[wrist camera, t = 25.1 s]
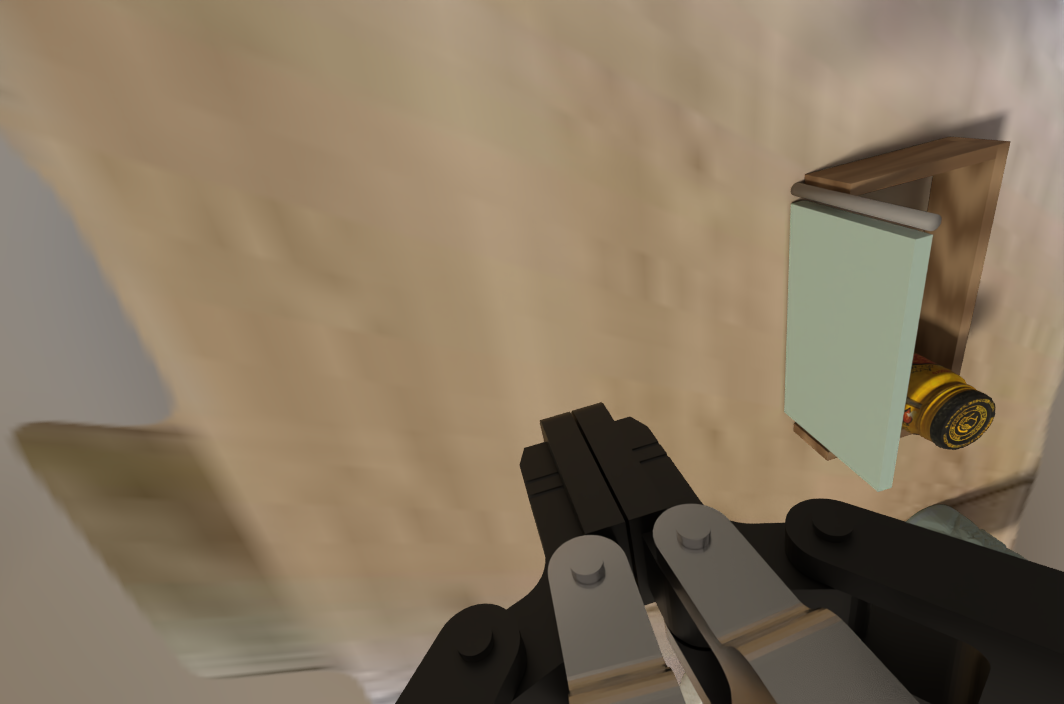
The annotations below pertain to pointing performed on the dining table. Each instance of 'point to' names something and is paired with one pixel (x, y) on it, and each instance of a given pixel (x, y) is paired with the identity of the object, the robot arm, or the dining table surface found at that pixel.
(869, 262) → the cover door
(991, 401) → the condiment
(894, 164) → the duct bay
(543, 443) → the robot arm
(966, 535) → the blue-grey cup
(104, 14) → the dining table surface
